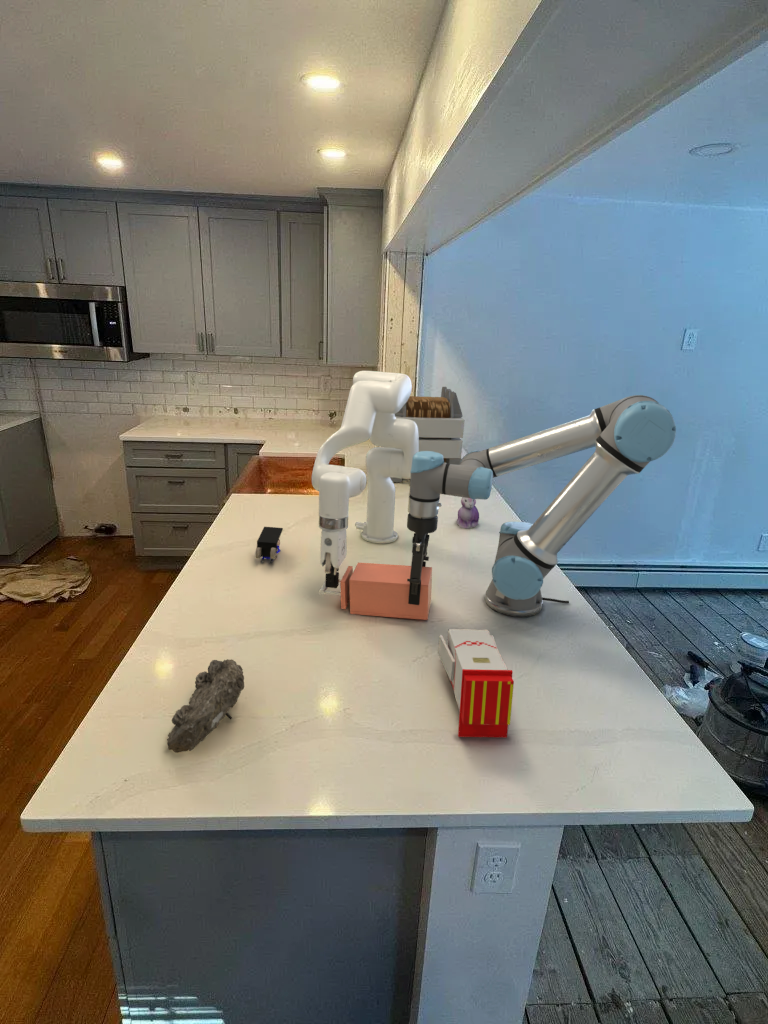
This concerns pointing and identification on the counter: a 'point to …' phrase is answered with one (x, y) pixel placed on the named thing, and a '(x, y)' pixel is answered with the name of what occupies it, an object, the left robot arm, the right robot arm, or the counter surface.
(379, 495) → the left robot arm
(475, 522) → the figurine
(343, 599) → the drawer
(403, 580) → the cabinet
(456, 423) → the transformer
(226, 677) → the fossil
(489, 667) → the toy
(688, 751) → the counter surface
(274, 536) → the figurine character
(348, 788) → the counter surface
